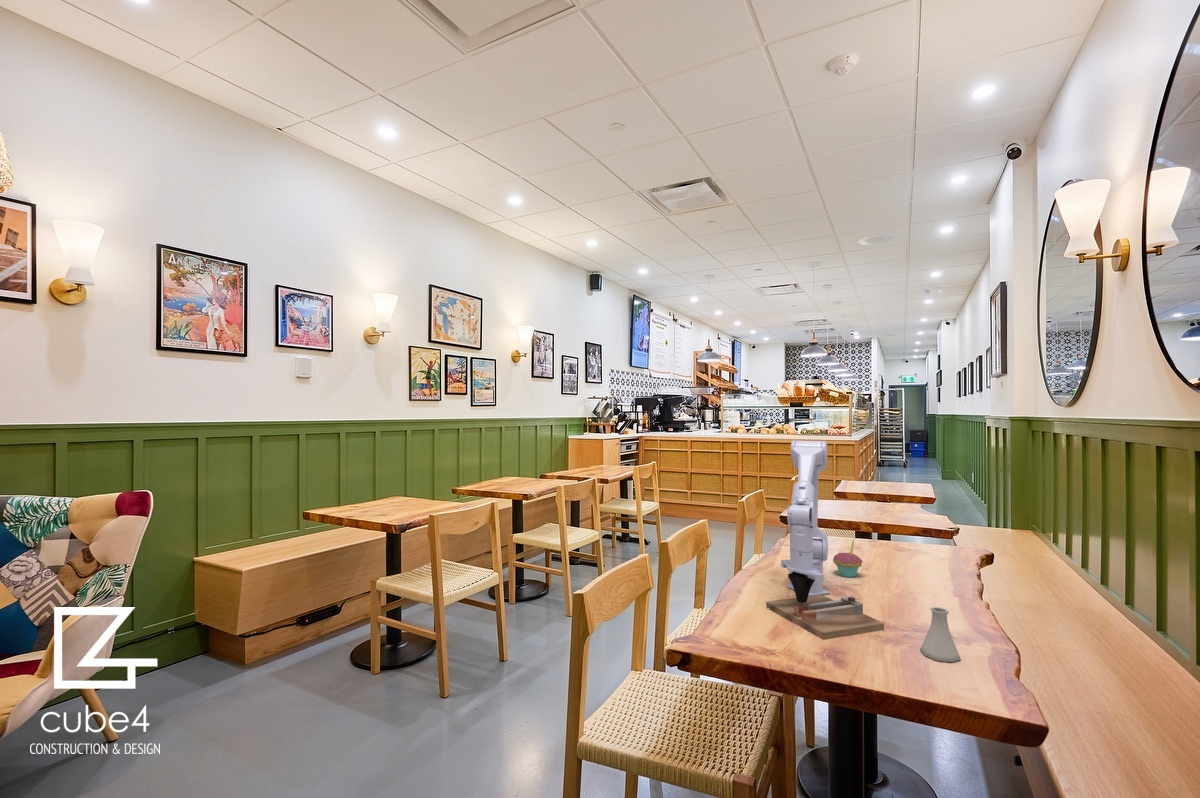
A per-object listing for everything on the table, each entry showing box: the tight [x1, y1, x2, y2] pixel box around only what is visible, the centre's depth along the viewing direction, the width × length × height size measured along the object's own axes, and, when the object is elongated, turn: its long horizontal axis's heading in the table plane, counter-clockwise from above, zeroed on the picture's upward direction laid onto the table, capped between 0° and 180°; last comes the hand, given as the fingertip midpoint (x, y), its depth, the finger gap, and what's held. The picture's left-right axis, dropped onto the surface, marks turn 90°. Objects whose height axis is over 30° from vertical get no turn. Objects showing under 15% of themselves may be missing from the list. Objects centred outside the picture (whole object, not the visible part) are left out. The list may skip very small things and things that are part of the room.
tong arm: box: [794, 599, 843, 616], centre depth 141 cm, size 14×2×2 cm, turn 109°
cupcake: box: [832, 538, 863, 578], centre depth 178 cm, size 9×8×12 cm
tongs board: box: [765, 594, 885, 640], centre depth 142 cm, size 22×18×5 cm
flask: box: [919, 606, 962, 663], centre depth 120 cm, size 7×7×10 cm
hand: (801, 601), depth 146 cm, fingers closed
